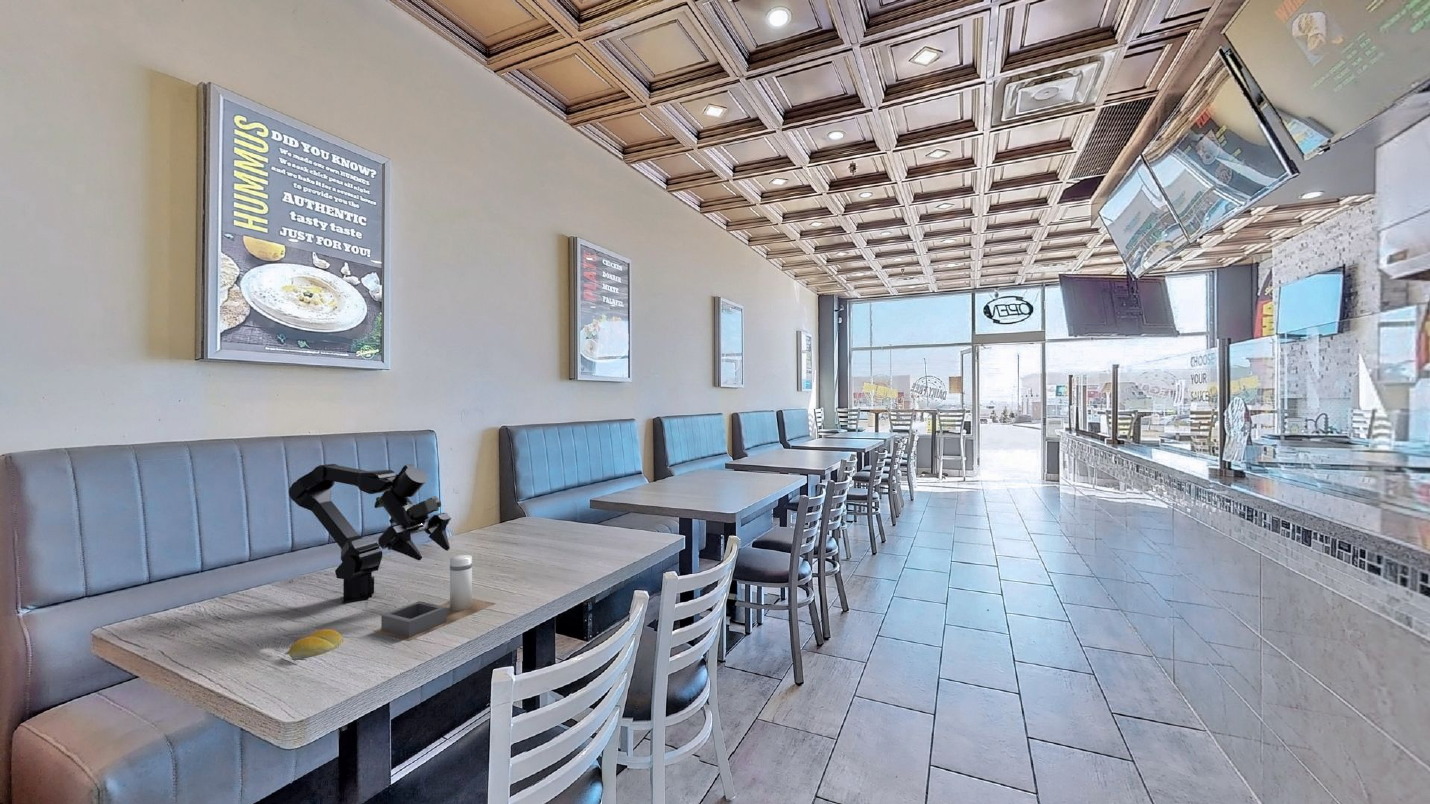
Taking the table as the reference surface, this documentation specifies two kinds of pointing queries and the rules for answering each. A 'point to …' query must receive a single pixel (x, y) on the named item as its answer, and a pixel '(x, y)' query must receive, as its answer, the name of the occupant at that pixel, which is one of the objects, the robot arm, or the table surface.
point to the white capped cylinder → (460, 582)
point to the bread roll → (316, 644)
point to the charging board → (451, 617)
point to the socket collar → (413, 619)
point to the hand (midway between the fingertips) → (435, 554)
